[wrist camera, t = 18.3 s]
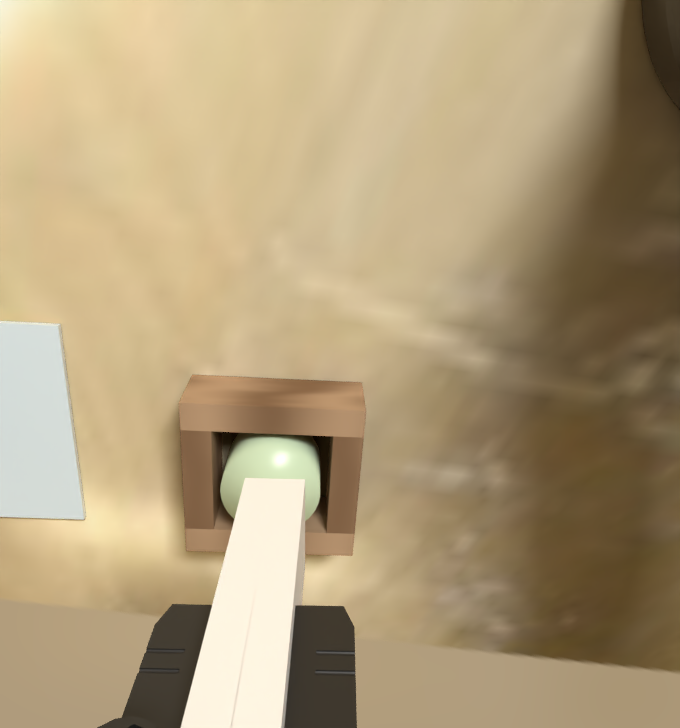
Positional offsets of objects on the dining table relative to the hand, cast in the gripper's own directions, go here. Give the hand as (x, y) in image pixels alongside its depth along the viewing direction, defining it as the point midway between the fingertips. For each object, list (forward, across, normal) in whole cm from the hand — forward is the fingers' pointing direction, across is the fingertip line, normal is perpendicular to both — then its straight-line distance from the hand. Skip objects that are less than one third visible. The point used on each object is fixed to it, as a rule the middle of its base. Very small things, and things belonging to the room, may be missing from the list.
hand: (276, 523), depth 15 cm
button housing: (+16, -2, -8) cm, 18 cm away
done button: (+15, -2, -8) cm, 17 cm away
